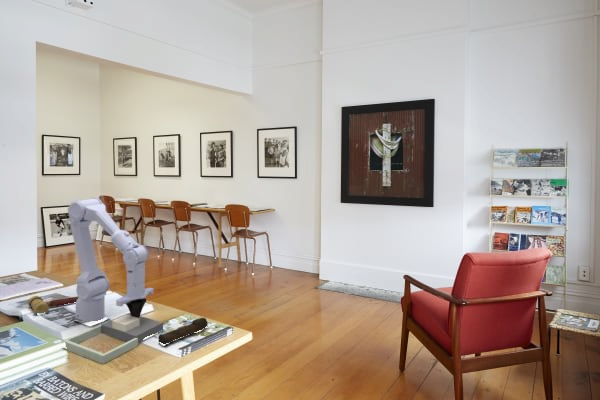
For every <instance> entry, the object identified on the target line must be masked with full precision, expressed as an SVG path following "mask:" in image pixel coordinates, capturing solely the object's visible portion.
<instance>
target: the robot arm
mask: <svg viewBox="0 0 600 400" xmlns="http://www.w3.org/2000/svg"><path fill="white" fill-rule="evenodd" d="M67 213H68V217H69V225H70V229H71V234H72V238H73V243H74V246H75V247H74V248H75V251H76V255H77V259H78V263H79V267H80V272H81V273H80V275H79V276H78V277H77V279H76V281H75V282H76V294H77V297H79V298H78V299H77V301H76V303H75V319H76V318H78V319H81V320H83V321H86V322H90V321H98V320H101V319H103V318H104V317H106V316H105V309H106V308H105V303H106V302H105V300H106V299H105V298H106V297H105V296H106V295H107V292H108V291H109V290H110V281H109V279H108V278H107V276H106V273H105V271H103V270H101V269H100V268H99V266H98V262H97V261H98V260H97V257H96V253H95V249H94V244H93V240H92V235H91V232H90V227H89V226H90V225H91V224H92V222H96V223H97V224H98V225H99V226H100V227H101V228H102V229H104V231H106V233H108V234H109V236H111V239H110V241H111V243H112V244H113V245H114V246H115V247H116V249H118V251H119V252H120V253H121V254H122V260H123V262H124V264H125V269H126V294H124V295H122V296H121V297H119V298H118V299H116V300H115V302H116V303H115V304H116V307H119V308H120V307H123V306H124V305H126V306H127V309H128V311H129V313H130V314H131V316H133V317H137V318H140V316H141V315H142V314H141V313H142V310H143V309H144V306H145V304H146V303H147V298H146V297H147V296H149V295H153V294H154V291H155V290H154V288H153V287H148V288H145V287H146V286H145V285H146V284H145V283H146V282H145V281H146V261H148V259H149V257H150V252H149V250H148V249H147V246H145V245H142V244H140V243H138V242H136V241H135V239H134V238H133V237H132V236H131V235H130V233H129V231H126V230H125V229H124V230H123V229H120V228H119V226H118V225H117V224H116V222H115V220H113V218H112V217H111V215H110V214H109V213H108V212H107V208H106V205H105V204H104V203H103V201H102V200H101V199H99V198H96V197H94V198H91V199H81V200H74V201H71V203H70V205H69V206H68V208H67Z"/></svg>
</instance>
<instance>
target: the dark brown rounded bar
mask: <svg viewBox="0 0 600 400" xmlns="http://www.w3.org/2000/svg"><path fill="white" fill-rule="evenodd" d="M208 324H209V322H208V320H207V318H206V317H199V318H196V319H194V320H192V321H191V323H190V324H187V325H185V326H182V327H179V328H176V329H174V330H171V331H169V332H166V333H163V334H160V333H158V343H159V342H161V343H163V344H166V343H169V342H171V341H173V340H175V339H178V338H180V337H183V336H186V335H188V334H191V333H193V334H194V332H197V331H199V330H202V329H203V328H205V327H206V326H207V327H208ZM191 335H192V334H191ZM188 336H189V335H188ZM186 337H187V336H186ZM183 338H184V337H183ZM178 340H179V339H178ZM171 343H172V342H171Z"/></svg>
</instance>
